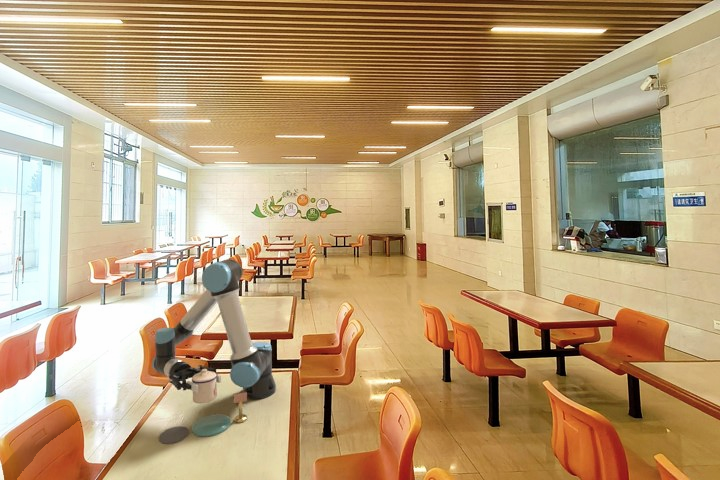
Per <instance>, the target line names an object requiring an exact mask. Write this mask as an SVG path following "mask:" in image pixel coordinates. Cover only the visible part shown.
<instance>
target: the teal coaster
mask: <svg viewBox="0 0 720 480" xmlns="http://www.w3.org/2000/svg"><path fill="white" fill-rule="evenodd" d="M230 425H231V418H230V417H229V416H227V415H225V414H211V415H207V416H205V417H202V418H200V419H198V420H197V421H196V422H194V423H193V425H192V427H191V432H192V434H193V435H194V436H196V437H199V438H200V437H201V438H207V437H209V438H210V437H213V436H217V435H220V434H222V433H224V432H225V431H226V430H227V429H229V428H230Z"/></svg>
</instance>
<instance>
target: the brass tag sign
mask: <svg viewBox="0 0 720 480" xmlns="http://www.w3.org/2000/svg"><path fill="white" fill-rule="evenodd" d="M247 401H248V398H247V392H243V391H242V392H236V393H233V403H234V404H236V403H238V415H236V416H234V419H233V420H234V421H233V422H235V423H236V424H241V423H244V422H246V421H248V415H247V414H244V413H243V412H244V411H243V402H247Z"/></svg>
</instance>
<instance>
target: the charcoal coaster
mask: <svg viewBox="0 0 720 480" xmlns="http://www.w3.org/2000/svg"><path fill="white" fill-rule="evenodd" d="M189 434H190V430H189V428H188V427H187V426H185V425H184V426H183V425H179V426H177V425H176V426H172V427H169V428H167V429H165V430H164V431H163V432H161V433H160V434H159V436H158V441H159V442H160V443H161V444H163V445H173V444H176V443H179V442H182V441H183V440H185V439H186V438H187V437H189Z"/></svg>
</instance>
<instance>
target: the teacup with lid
mask: <svg viewBox="0 0 720 480" xmlns="http://www.w3.org/2000/svg"><path fill="white" fill-rule="evenodd" d="M216 373H217V372H216ZM216 373H215V372H213V371H207V369H202V370H201V372H199V373H197V374H195V375H194V376H193V377H192V378H191V382H193V383H195V384H197V385H198V392H197V393H196V392H194V391H192V402H194V403H195V404H200V405H201V404H202V405H203V404H207V403H211V402H213V401H214V400H216V399H217V396H218V392H217V389H218V388H217V387H218V385H217V382H216V377H217V374H218V373H217V374H216Z"/></svg>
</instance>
